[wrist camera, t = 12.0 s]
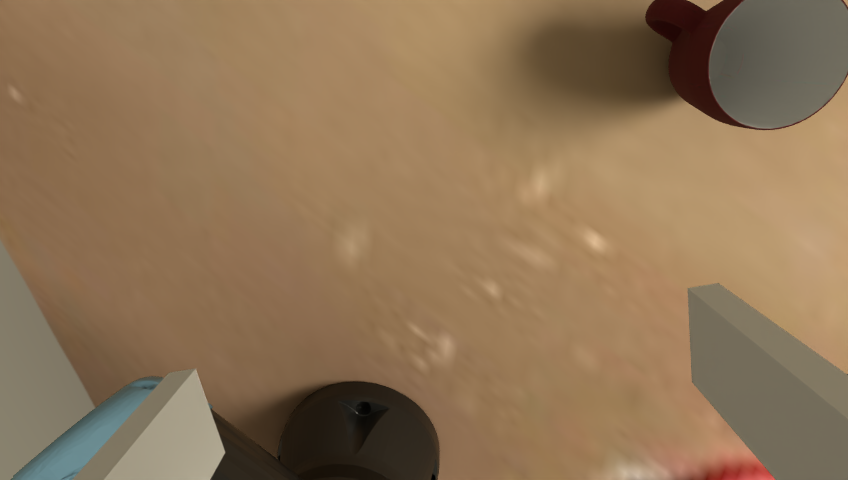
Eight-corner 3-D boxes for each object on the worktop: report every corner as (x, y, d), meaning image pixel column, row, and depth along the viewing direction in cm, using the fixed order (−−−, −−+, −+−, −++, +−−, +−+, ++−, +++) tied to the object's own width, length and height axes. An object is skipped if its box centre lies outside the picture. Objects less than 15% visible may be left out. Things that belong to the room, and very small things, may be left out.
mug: (593, 77, 39) (640, 80, 30) (648, -33, 37) (718, -68, 28) (716, 132, 40) (800, 152, 31) (777, 28, 38) (888, 14, 28)
